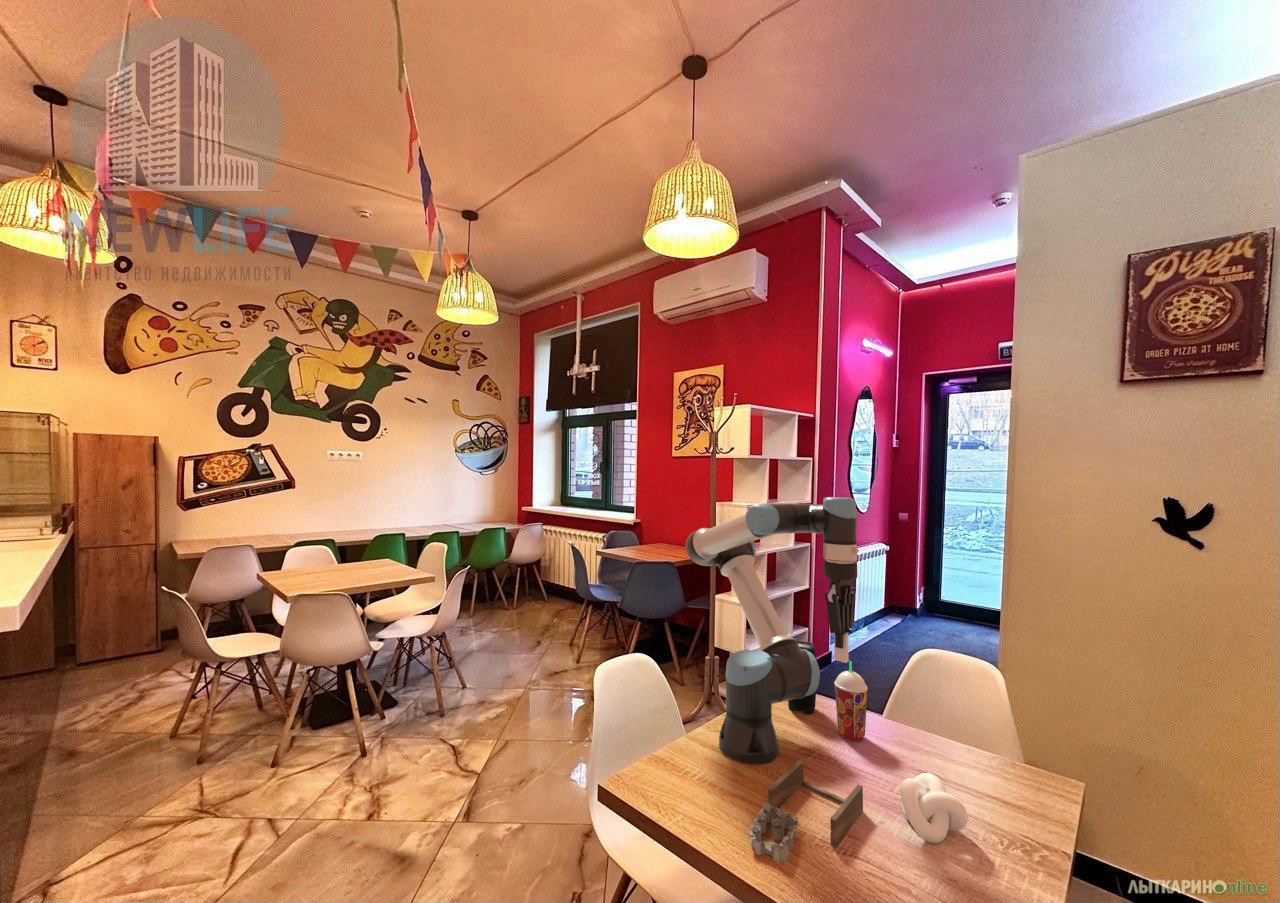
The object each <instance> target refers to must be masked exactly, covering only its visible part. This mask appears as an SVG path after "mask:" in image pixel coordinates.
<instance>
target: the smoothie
mask: <svg viewBox="0 0 1280 903" xmlns="http://www.w3.org/2000/svg"><path fill="white" fill-rule="evenodd" d="M852 663H853V662H852V661H851V660H849V662H848V665H849V666H848V668H849V669H848V670H845V671H842V672H840V673H839V674H838V676H837V677H836V679H835V681H834V690H835V691H834V693H835V695H834V696H835V707H836V720H837V730H838V732H839V735H840V737H841V738H842V739H844V740H846V741H849V742H855V743H856V742H857V743H858V742H861V741H863V739H864V737H865V736H866V725H867V724H866V721H867V704H868V686H867V685H866V682H865V680H864V678H863V677H862V676H861V675H860V674H858V672H855V671H853V666H852V665H853V664H852Z"/></svg>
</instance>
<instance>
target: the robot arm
mask: <svg viewBox="0 0 1280 903" xmlns="http://www.w3.org/2000/svg"><path fill="white" fill-rule="evenodd" d="M857 513H858V512H857V504H856V501H855V499H854V498H852V497H837V496H836V497H835V496H827V497H824V498H823V501H822V504H819V503H818V504H816V503H806V502H798V503H767V502H766V503H764V502H763V503H758V504H753V505H751V506H749V507H748V510H746V513H743V514H741V515H739V516H736V517H734V518H732V519H730V520H727V521H725V522H722V523H720V524H717V525H715V526H713V527H711V528H708V527H701V528H699V529H697V530H695V531H693V532H691V533H690V535H688V537H687V538H686V541H685V551H686V554H687V556H688V558H689V559H690V560H691V561H692V562H693V563H695V564H697V565H699V566H703V567H712V566H713V567H714V566H717V567H718V570H719V571H720V574H721V575H722V576H724V577H727V578H728V580H729V583H730V584H731V587H732V588H733V591H734V593H735V596H736V597H737V600H738V602H739V605H740V606H741V608H742V611H743V613H744V615H745V617H746V620H747V621H748V624H749V626H750V629H751V631H752V633H753V635H754V637H755V639H756V642H757V644H758V646H759V649H743V650H739V651H736V652H734V653H732V654H730V656H729V657H728V658H727V661H726V666H725V669H726V670H725V672H724V673H725V674H724V676H725V716H724V720H723V722H722V725H721V729H720V731H719V735H718V746H719V749H720V751H721V752H722V754H724V755H725V756H727V757H728V758H729V759H731V760H734V761H737V762H740V763H744V764H749V765H762V764H767V763H771V762H773V761H774V760H776V759H777V758H778V757H779V752H780V748H779V746H780V744H779V740H778V736H777V734H776V729H775V726H774V724H773V720H772V718H773V717H772V713H773V712H772V711H773V709H772V707H773V704H777V703H781V702H782V703H784V702H788V700H792V699H797V698H798V699H801V698H803V697H805V696H808V695H811V694H813V693H814V692H815V691H816V692H817V689H818V687H819V684H820V678H821V675H820V674H821V673H820V672H821V671H820V667H819V663H818V661H817V658H816V656H815V657H814V656H813V654H812V653H811V652H808V651H807V650H805V649H800V647H799V645H798V643H797V641H798V640H796V639H795V638H793V637H792V636H789V635H788V634H787V631H786V630H785V627H784V625H783V623H782V622H781V620H780V617H779V615H778V614H777V612H776V610H775V608H774V605H773V604H772V602H771V600H770V597H769V596H768V594H767V591H766V590H765V588H764V585H763V584H762V582H761V580H760V577H759V576H758V574H757V571H756V570H755V567H754V564H755V562H756V561H755V558H756V552H757V551H756V550H757V549H755V548H756V543H755V541H757V540H761V539H763V538H766V537H770V536H772V535H779V534H781V535H782V534H807V533H811V534H819V535H823V558H824V559H825V560H824V562H823V574H824V576H825V578H828V579H830V581H829V582H830V583H829V588H828V589H829V590H828V591H829V592H824V599H825V602H826V610H827V617H828V625H829V632H830V633H833V634H834V636H833V637H834V661H836V662H837V661H838V662H841V663H845V664H847V663H849V661H850V659H849V658H850V657H849V656H850V655H849V634H853V630H852V628H853V620H854V619H853V618H854V607H855V606H854V605H855V596H856V593H857V592H856V591H857V588H856V587H854V586H852V581H854V580H856V579H857V578H858V564H857V563H856V562H857V560H858V553H860V551H859V549H858V546H857V545H858V544H857V543H858V541H857V540H858V539H857V529H858V528H857V526H858V524H857V520H858V514H857Z"/></svg>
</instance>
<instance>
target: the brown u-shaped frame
mask: <svg viewBox="0 0 1280 903" xmlns="http://www.w3.org/2000/svg"><path fill="white" fill-rule="evenodd" d="M804 763H805V762H804V761H803V760H801V759H798V761H796V762H795V764H793V765H791V767H790V768H789V769H788V770H786V771H785V772H784V773H783V774H782V775H781V776H780V777H779V778H777V779H776V780H775V781H774V782H773V783H772V784H771V785H770V786H769V787H768V804H770V805H771V806H772V807H774V808H776V807H777V808H778V809H780V810H781V808H782V807H783V806H784V804H786V803H787V802H788V801H789V800H790V799H791V798H792V797H793V796H794V795H795V794H796V793H797V792H798V791H799V790H800V789H801V788H802V787H803V788H805V789H807V790H809V791H811V792H814V793H815V794H817V795H819V796H822V797H824V798H827V799H828V800H831V801H833V802H835V803H838V804H839V805H840V806H839V807H838V809H836V811H834V813H833V814H832V816H831V817H830V847H833V848H835V849H837V848H838V846H839V845H840V843H841V842H842V841H843V840H844V838H845V837H846V836H847V834H848V833H849V831H850V830H851V828H852V827H853V826H854V824H855V823H856V822H857V820H858V819H859V818H860V816H861V815H862V814H863V812H864V789H863V788H864V787H863V786H862V785H860V784H857V785H856V786H855V787H854V789H852V791H851V792H850V794H849V795H848V796H847V797H846V798H843V797H841V796H838V795H836V794H835V793H832V792H830V791H828V790H826V789H823V788H821V787H819V786H817V785H815V784H812V783H810V782H808V781H806V780H805V774H804V773H805V772H804V770H805V769H804V768H805V766H804V765H805V764H804Z"/></svg>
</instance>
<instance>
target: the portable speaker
mask: <svg viewBox="0 0 1280 903" xmlns="http://www.w3.org/2000/svg"><path fill="white" fill-rule="evenodd" d="M796 641H797V643H798V645H799V647H800V649H805V650H807V651H808V652H811V653H812V654H813V656H814V657H815V658H816V653H815V652H816V651H815V644H814V643H813V642H812V641H802V640H796ZM816 699H817V690H816V691H815V692H814V693H813V694H811V695H808V696H805V697H803V698H801V699H798V698H797V699H792V700H788V701H787V702H788V703H787V706H788V709H789V710H790V711H792V712H793V711H795V710H796V711H798V712H799V711H800V712H803V715H812V714H814V712H815V709H816V702H817V701H816Z"/></svg>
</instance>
